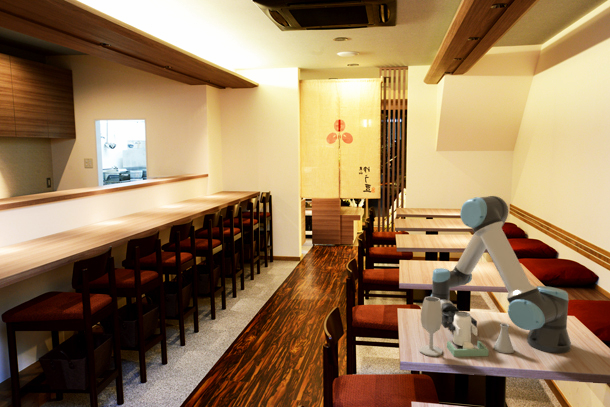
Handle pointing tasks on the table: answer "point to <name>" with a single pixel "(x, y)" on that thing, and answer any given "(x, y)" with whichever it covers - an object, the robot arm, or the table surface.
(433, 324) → the wineglass
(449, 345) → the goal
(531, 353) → the table surface
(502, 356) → the table surface
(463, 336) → the can
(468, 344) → the ball
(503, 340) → the flask
